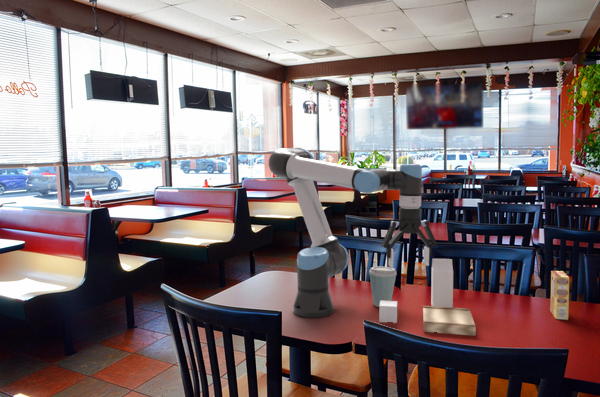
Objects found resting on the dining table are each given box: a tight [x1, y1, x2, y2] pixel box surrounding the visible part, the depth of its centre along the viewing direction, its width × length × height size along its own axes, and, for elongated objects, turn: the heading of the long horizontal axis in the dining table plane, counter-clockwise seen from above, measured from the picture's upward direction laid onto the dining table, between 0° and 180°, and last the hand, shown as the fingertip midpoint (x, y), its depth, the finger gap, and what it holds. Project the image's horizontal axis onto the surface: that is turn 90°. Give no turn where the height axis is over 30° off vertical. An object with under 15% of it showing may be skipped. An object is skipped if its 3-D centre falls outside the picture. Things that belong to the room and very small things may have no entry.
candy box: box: [550, 270, 570, 321], centre depth 159 cm, size 9×4×15 cm, turn 162°
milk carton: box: [430, 258, 454, 308], centre depth 169 cm, size 7×7×19 cm
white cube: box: [378, 300, 398, 324], centre depth 159 cm, size 6×6×6 cm
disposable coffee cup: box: [368, 266, 398, 308], centre depth 174 cm, size 11×11×15 cm
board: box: [422, 305, 477, 337], centre depth 153 cm, size 16×16×3 cm
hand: (408, 265), depth 162 cm, fingers open, 13 cm apart
